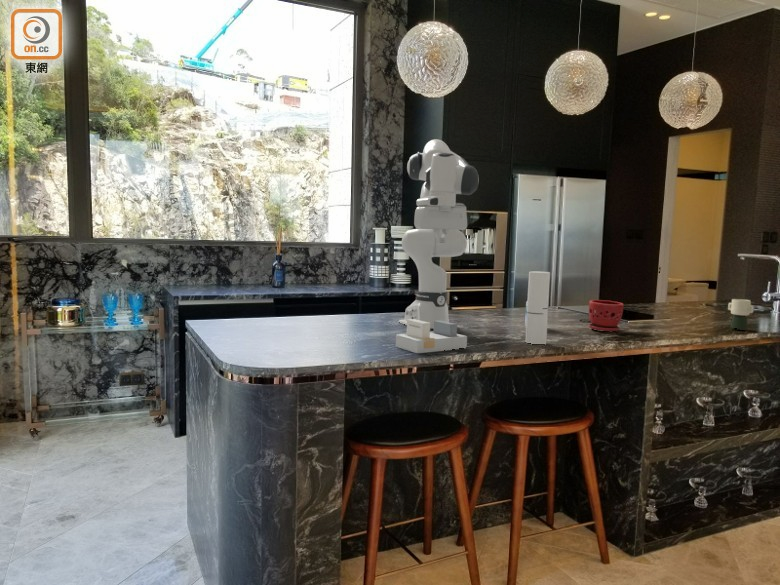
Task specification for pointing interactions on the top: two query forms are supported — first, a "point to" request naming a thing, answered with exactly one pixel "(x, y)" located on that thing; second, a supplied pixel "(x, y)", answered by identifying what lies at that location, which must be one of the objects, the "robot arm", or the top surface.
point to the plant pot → (605, 315)
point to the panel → (418, 329)
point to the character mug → (740, 312)
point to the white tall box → (537, 307)
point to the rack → (434, 339)
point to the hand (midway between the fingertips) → (440, 243)
